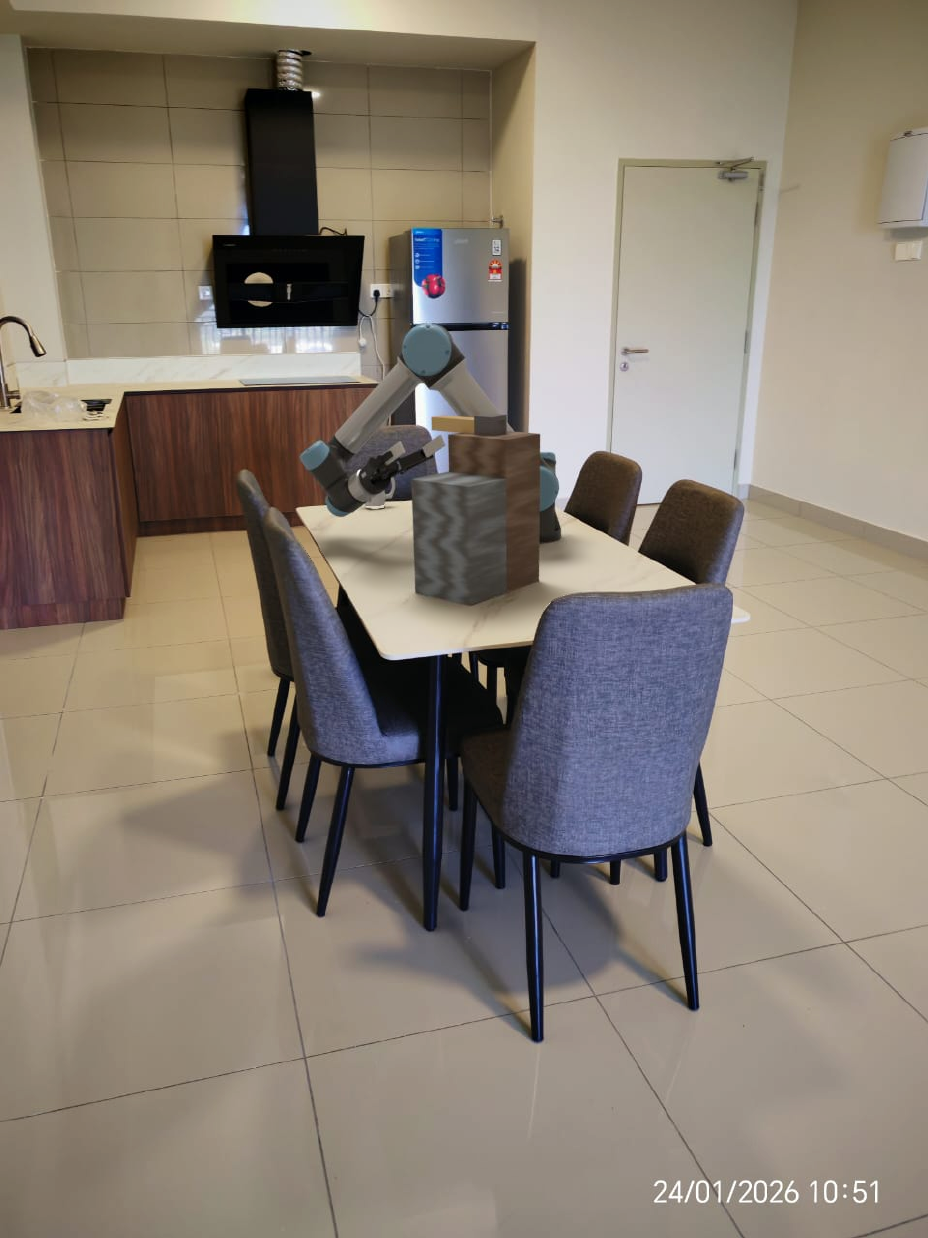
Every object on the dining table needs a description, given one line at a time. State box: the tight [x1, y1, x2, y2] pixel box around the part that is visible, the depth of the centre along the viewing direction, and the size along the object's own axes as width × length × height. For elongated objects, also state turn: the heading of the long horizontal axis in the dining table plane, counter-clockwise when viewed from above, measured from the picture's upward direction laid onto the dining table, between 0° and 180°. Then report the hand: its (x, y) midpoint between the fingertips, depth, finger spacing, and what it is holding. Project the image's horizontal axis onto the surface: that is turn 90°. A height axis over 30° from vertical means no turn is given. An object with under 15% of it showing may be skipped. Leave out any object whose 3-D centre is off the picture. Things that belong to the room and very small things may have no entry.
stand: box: [410, 431, 541, 607], centre depth 202 cm, size 16×24×33 cm, turn 139°
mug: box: [364, 477, 396, 507], centre depth 291 cm, size 10×7×12 cm, turn 95°
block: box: [431, 413, 508, 436], centre depth 205 cm, size 18×5×4 cm, turn 49°
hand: (422, 443), depth 215 cm, fingers open, 13 cm apart
